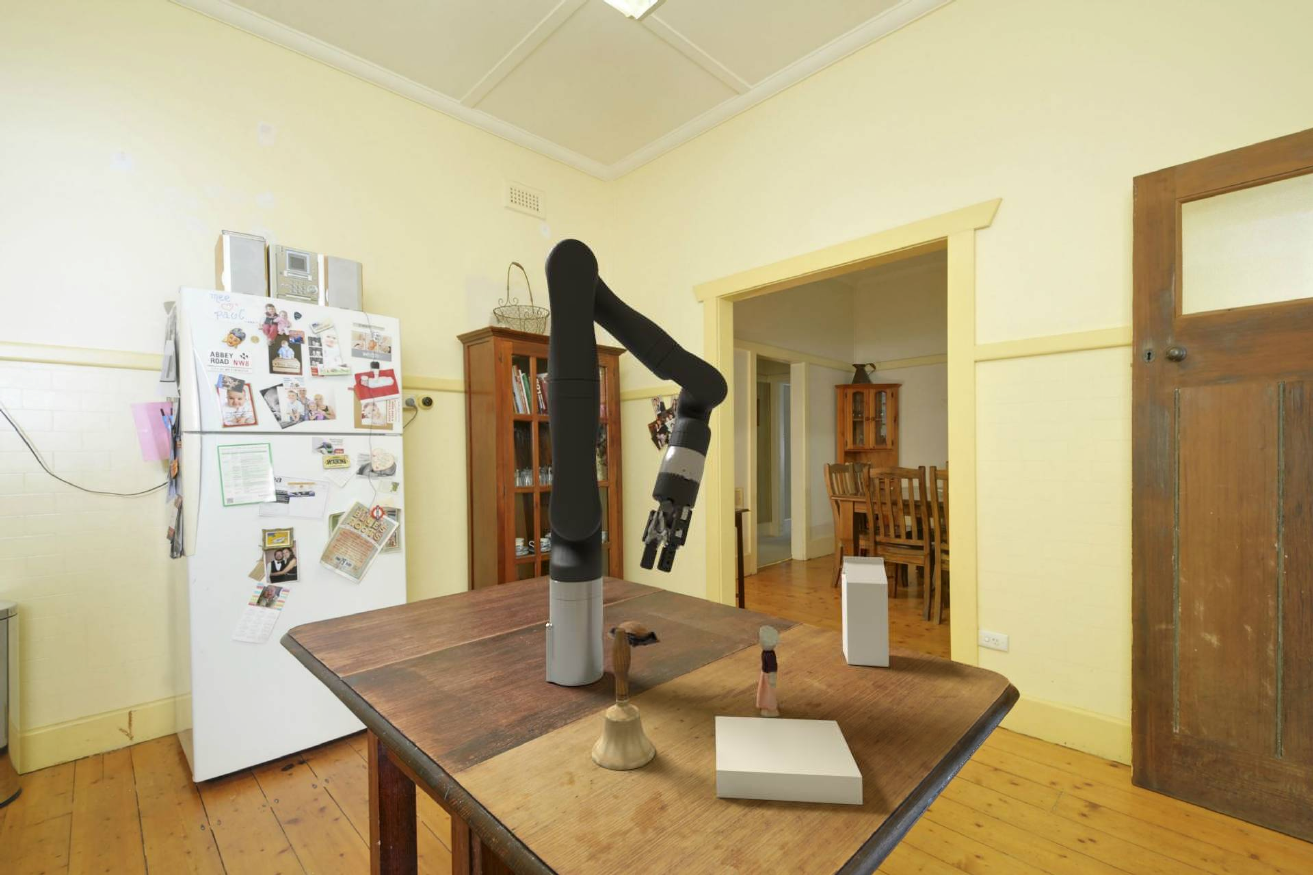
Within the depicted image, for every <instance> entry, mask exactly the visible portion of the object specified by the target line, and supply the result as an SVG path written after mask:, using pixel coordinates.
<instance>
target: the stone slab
mask: <svg viewBox="0 0 1313 875" xmlns="http://www.w3.org/2000/svg"><path fill="white" fill-rule="evenodd" d="M715 771H716V772H715V776H716V777H715V778H716V779H715V780H716V782H715V784H716V786H715V787H716V797H717V798H729V799H730V798H732V799H747V800H748V799H749V800H750V799H751V800H767V801H784V802H785V801H786V802H787V801H788V802H802V803H803V802H805V803H809V802H810V803H825V804H826V803H827V804H828V803H829V804H844V805H863V804H864V803H863V776H862V774H861V771H860V769H859V768H858V765H857V763H856V761H855V759H854V757H853V755H852V752H851V750H850V747H849V746H848V743H847V742H846V739H845V737H844V735H843V733H842V730H841V728H840V726H839V724H838V722H837V720H827V719H826V720H825V719H823V720H822V719H821V720H819V719H802V718H801V719H800V718H799V719H797V718H796V719H795V718H775V717H745V716H744V717H743V716H720V715H719V716H718V715H717V716H716V715H715Z"/></svg>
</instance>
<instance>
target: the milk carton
mask: <svg viewBox="0 0 1313 875" xmlns="http://www.w3.org/2000/svg"><path fill="white" fill-rule="evenodd" d="M884 559H885V558H884V557H877V556H875V557H871V556H870V557H869V556H865V557H864V556H843V564H842V570H841V607H842V608H841V609H842V612H841V613H842V617H841V618H842V651H843V654H844V656H845V659H846V663H847V664H848V665H856V666H857V665H858V666H871V667H872V666H873V667H885V668H886V667H887V668H888V667H889V666H890V658H889V656H890V655H889V654H890V652H889V651H890V650H889V600H888V599H889V598H888V597H889V596H888V595H889V594H888V593H889V589H888V583H889V582H888V578H887V574H886V568H885V561H884Z"/></svg>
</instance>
